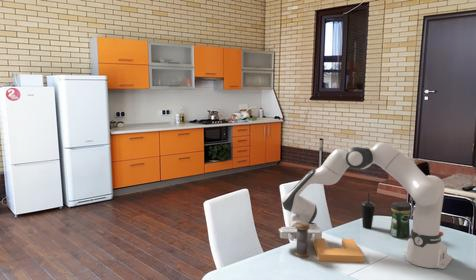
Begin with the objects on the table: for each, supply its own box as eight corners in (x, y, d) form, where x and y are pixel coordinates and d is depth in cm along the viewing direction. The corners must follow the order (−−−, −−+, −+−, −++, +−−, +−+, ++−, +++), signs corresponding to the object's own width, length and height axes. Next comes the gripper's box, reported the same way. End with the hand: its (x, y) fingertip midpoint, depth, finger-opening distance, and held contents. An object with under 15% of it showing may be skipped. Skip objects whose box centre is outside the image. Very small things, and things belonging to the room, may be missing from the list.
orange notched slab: (313, 243, 197) (313, 238, 196) (352, 244, 196) (353, 239, 196) (319, 260, 177) (319, 254, 177) (363, 262, 176) (364, 255, 176)
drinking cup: (376, 227, 221) (378, 193, 219) (370, 230, 216) (372, 195, 213) (363, 224, 227) (365, 190, 224) (357, 227, 221) (359, 193, 218)
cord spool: (301, 251, 188) (302, 221, 186) (311, 255, 183) (312, 225, 181) (291, 254, 184) (292, 224, 182) (301, 259, 179) (302, 227, 177)
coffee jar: (402, 232, 214) (404, 199, 212) (412, 237, 206) (414, 203, 204) (387, 233, 211) (388, 200, 209) (396, 239, 204) (398, 204, 201)
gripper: (278, 222, 196) (280, 232, 182) (319, 223, 195) (324, 233, 181) (278, 234, 197) (279, 245, 183) (318, 235, 196) (323, 246, 182)
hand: (302, 239), depth 182 cm, fingers open, 8 cm apart
